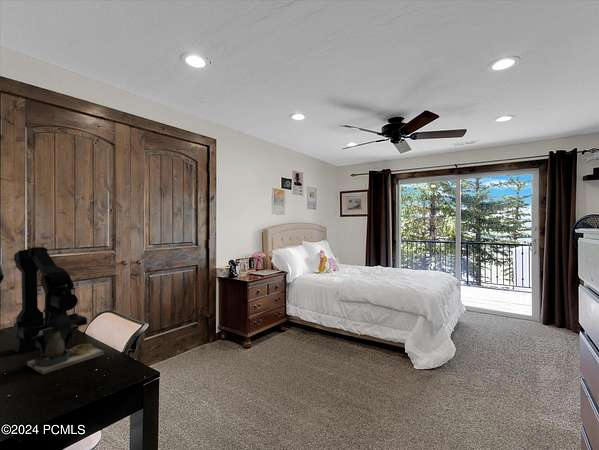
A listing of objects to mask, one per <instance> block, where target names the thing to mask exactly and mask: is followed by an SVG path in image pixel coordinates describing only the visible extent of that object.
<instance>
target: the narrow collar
mask: <svg viewBox="0 0 599 450" xmlns="http://www.w3.org/2000/svg"><path fill="white" fill-rule="evenodd" d="M93 347H94V344H92V343H89V342H88V343H80V344H77V345H75V346H73V347H72V348H71V349H72V354H74V355H82V354H86V353H89V352H91V351H92V350H93Z"/></svg>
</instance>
